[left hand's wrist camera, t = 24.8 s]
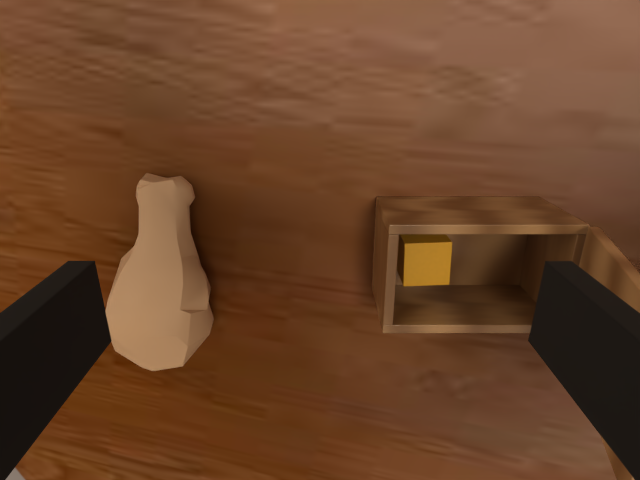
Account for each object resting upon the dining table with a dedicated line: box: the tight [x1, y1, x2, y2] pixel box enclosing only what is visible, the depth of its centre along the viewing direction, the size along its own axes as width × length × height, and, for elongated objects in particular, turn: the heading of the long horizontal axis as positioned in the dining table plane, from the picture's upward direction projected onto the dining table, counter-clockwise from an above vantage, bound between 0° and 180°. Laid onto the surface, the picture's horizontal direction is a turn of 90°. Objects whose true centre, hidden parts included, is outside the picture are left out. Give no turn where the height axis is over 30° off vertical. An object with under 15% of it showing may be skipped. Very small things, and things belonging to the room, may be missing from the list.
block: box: [397, 234, 452, 286], centre depth 44 cm, size 4×4×4 cm
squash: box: [106, 173, 214, 371], centre depth 44 cm, size 11×20×9 cm, turn 176°
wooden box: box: [372, 197, 590, 333], centre depth 42 cm, size 17×11×9 cm, turn 90°
